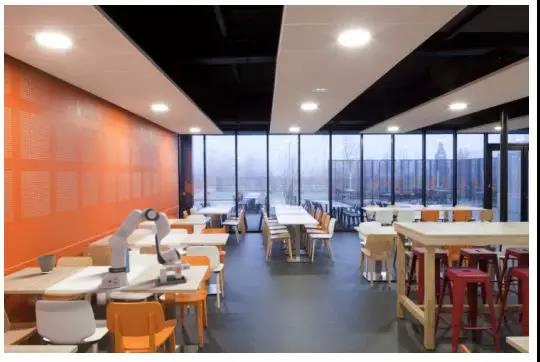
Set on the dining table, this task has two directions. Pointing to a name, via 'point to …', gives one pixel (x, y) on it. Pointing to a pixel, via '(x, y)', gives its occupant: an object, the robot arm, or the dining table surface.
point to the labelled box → (178, 270)
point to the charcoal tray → (171, 281)
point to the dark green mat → (168, 276)
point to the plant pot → (46, 262)
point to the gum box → (127, 259)
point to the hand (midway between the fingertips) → (178, 269)
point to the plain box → (163, 275)
